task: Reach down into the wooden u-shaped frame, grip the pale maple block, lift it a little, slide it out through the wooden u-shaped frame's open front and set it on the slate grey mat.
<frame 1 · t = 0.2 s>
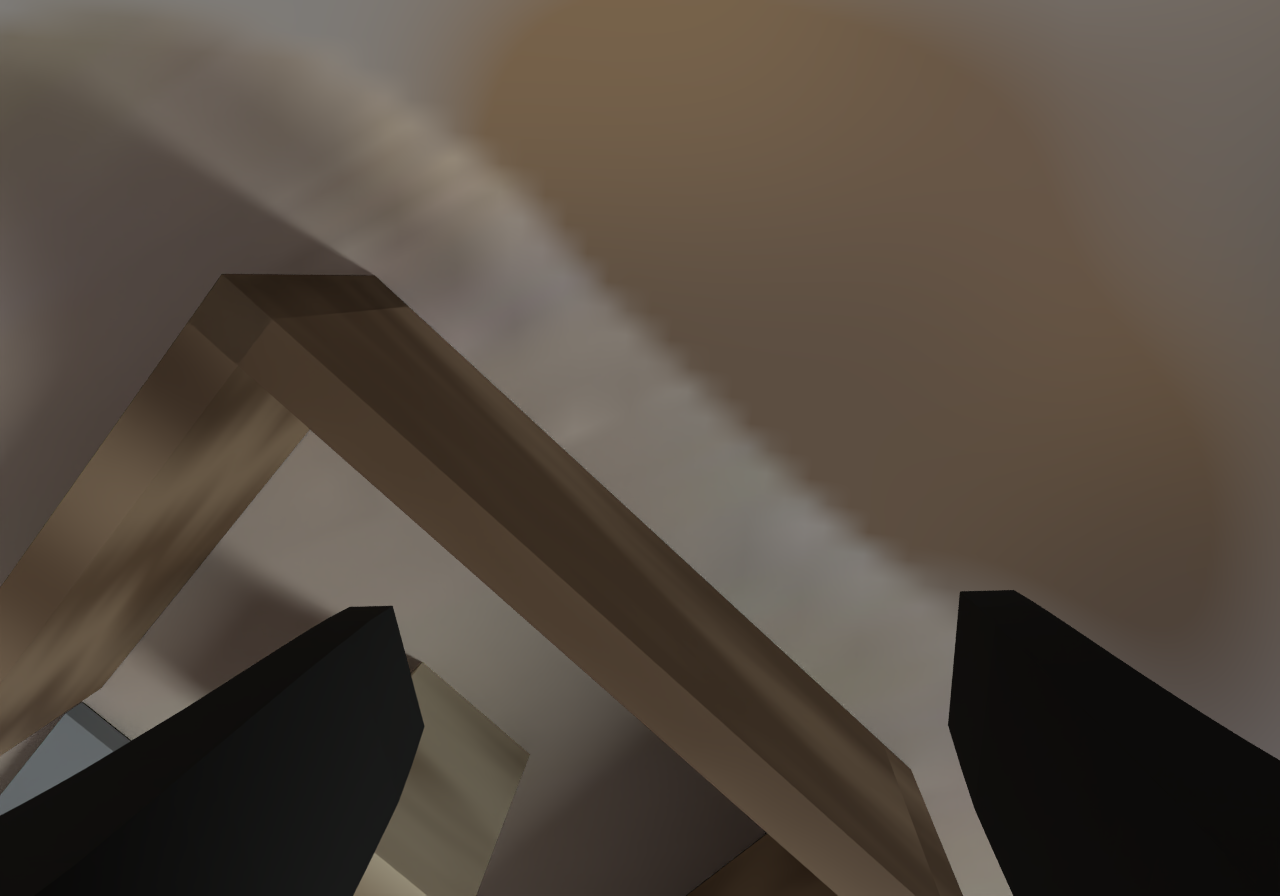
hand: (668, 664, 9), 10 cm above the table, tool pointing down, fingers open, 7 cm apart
block: (433, 750, 22), on the table
wooden u-shaped frame: (471, 714, 22), on the table
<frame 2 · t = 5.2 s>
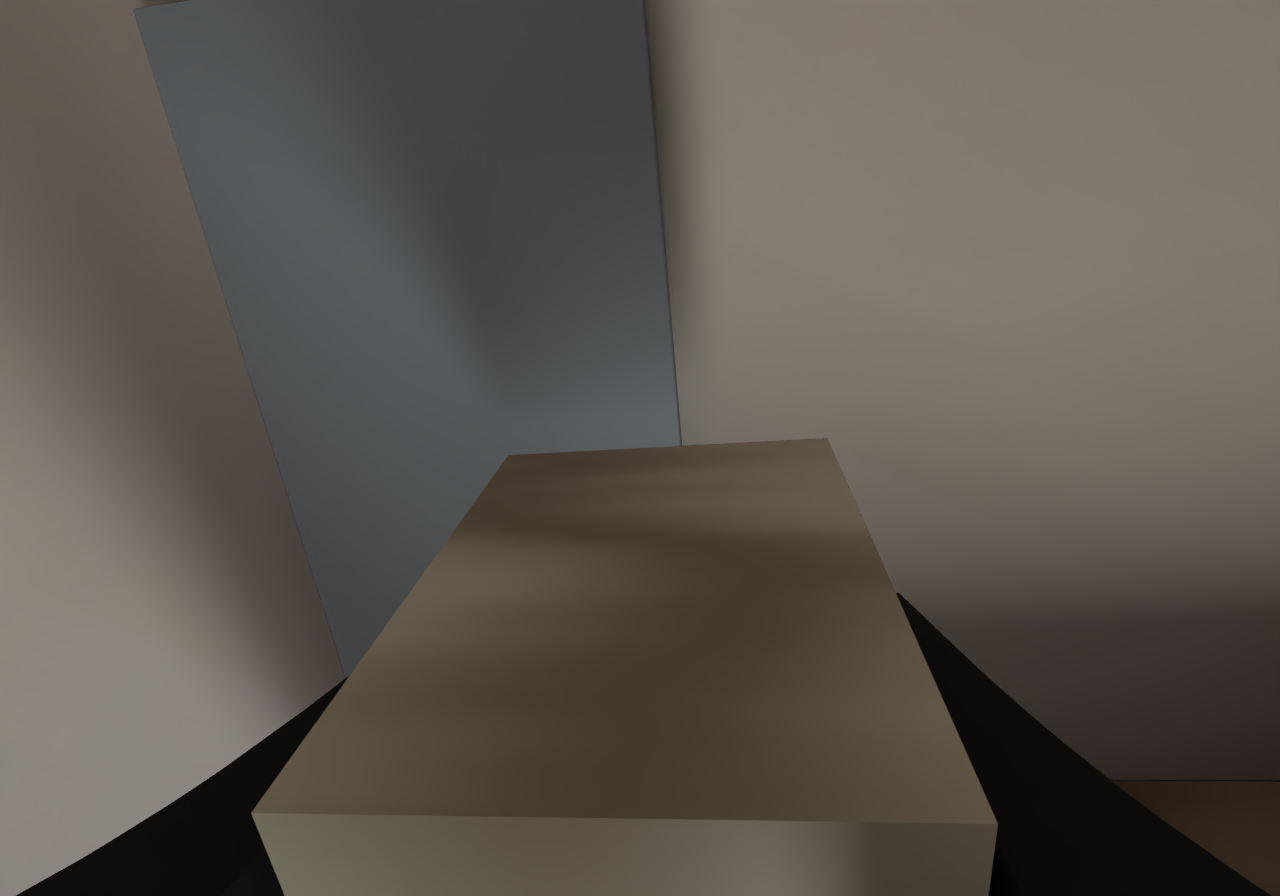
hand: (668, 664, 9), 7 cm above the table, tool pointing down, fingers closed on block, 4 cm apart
mat: (485, 472, 16), on the table
block: (675, 583, 10), point 5 cm above the table, touching gripper
wooden u-shaped frame: (1153, 434, 14), on the table
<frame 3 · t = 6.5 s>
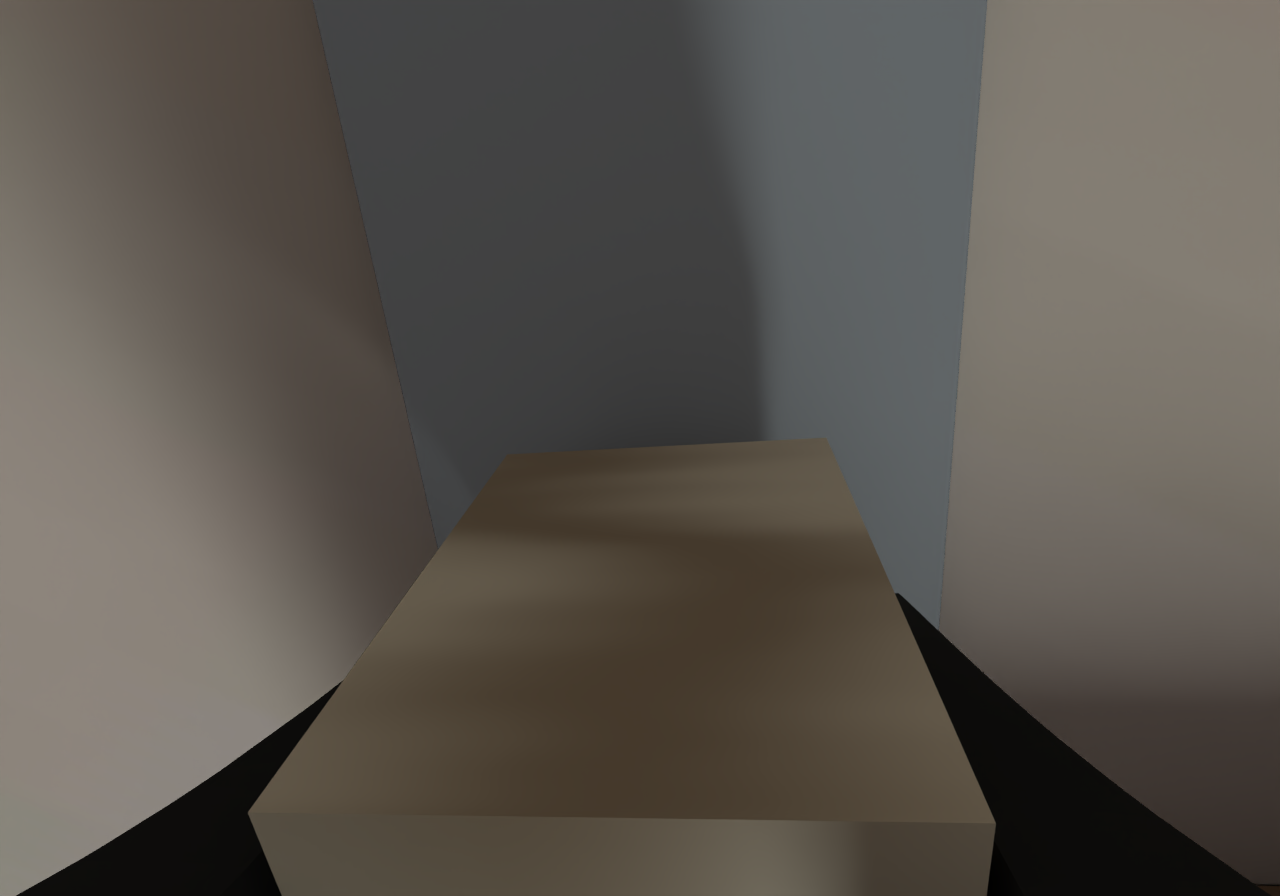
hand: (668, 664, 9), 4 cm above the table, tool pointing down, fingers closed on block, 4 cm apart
mat: (681, 517, 13), on the table
block: (674, 583, 10), point 2 cm above the table, touching gripper
when the fingers open (3 cm above the table, at t = 7.6 s): block stays where it is, resting on mat.
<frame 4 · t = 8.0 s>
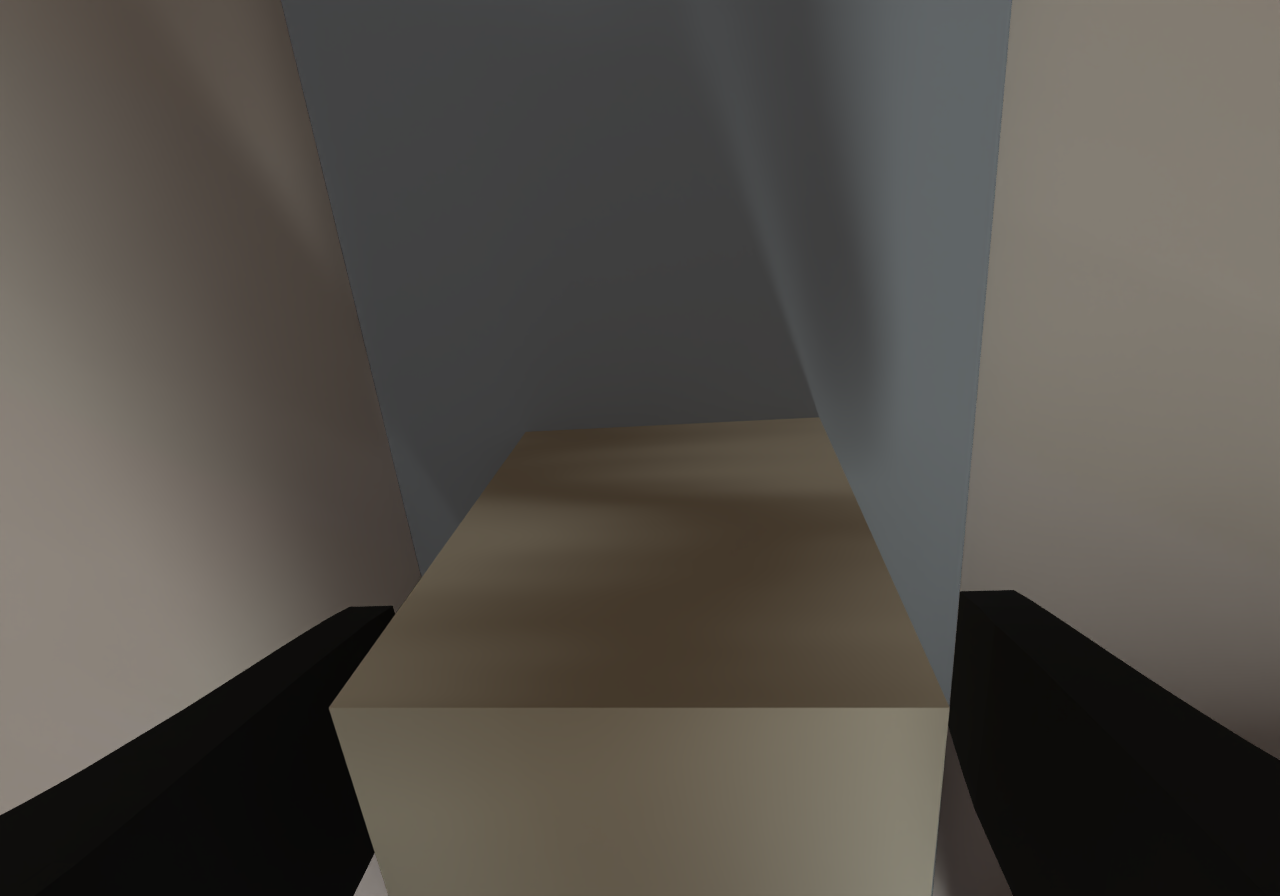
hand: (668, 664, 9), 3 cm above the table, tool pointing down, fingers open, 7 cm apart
mat: (679, 537, 12), on the table
block: (678, 553, 11), point 1 cm above the table, touching mat
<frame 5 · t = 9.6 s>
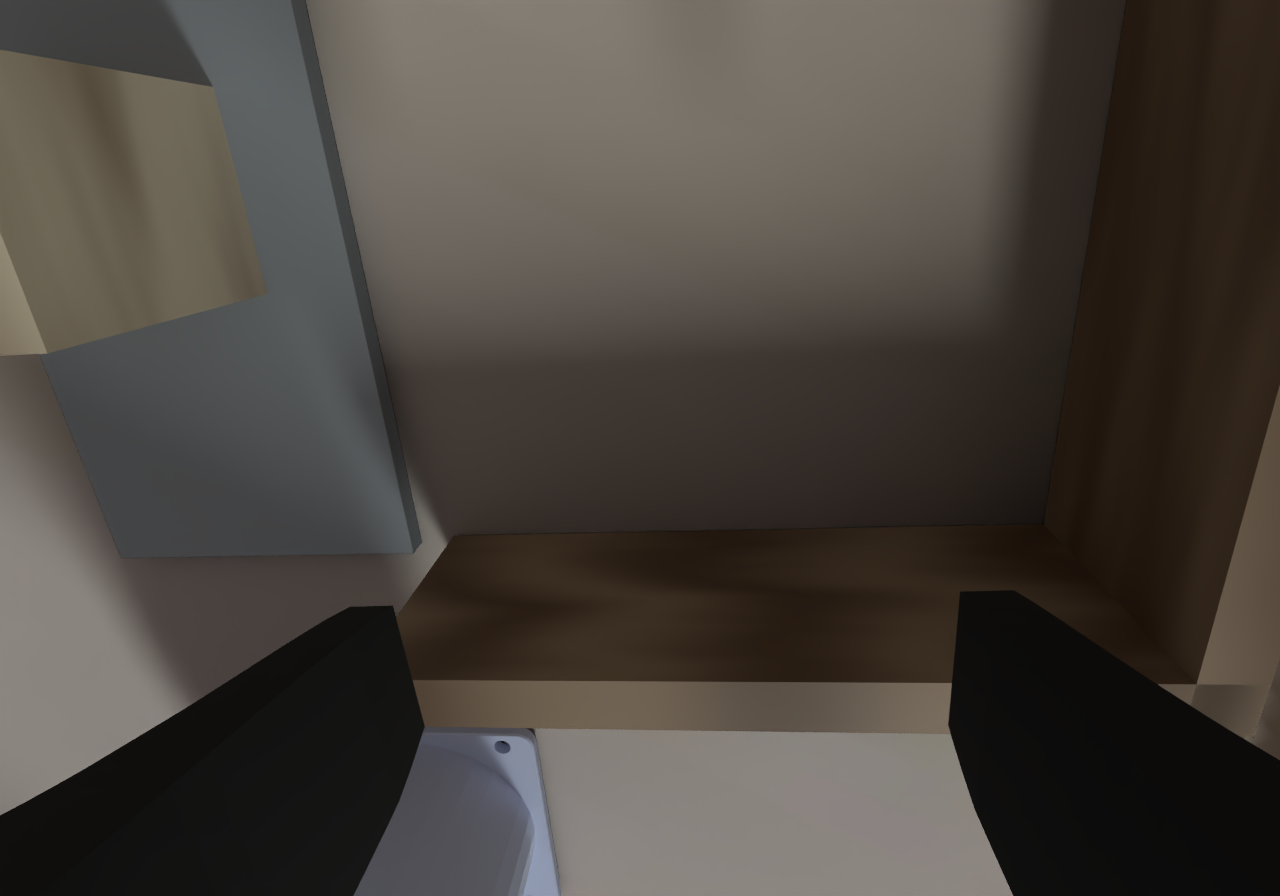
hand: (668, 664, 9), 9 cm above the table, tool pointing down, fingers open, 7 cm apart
mat: (171, 203, 17), on the table
block: (153, 202, 16), point 1 cm above the table, touching mat
wooden u-shaped frame: (752, 156, 15), on the table
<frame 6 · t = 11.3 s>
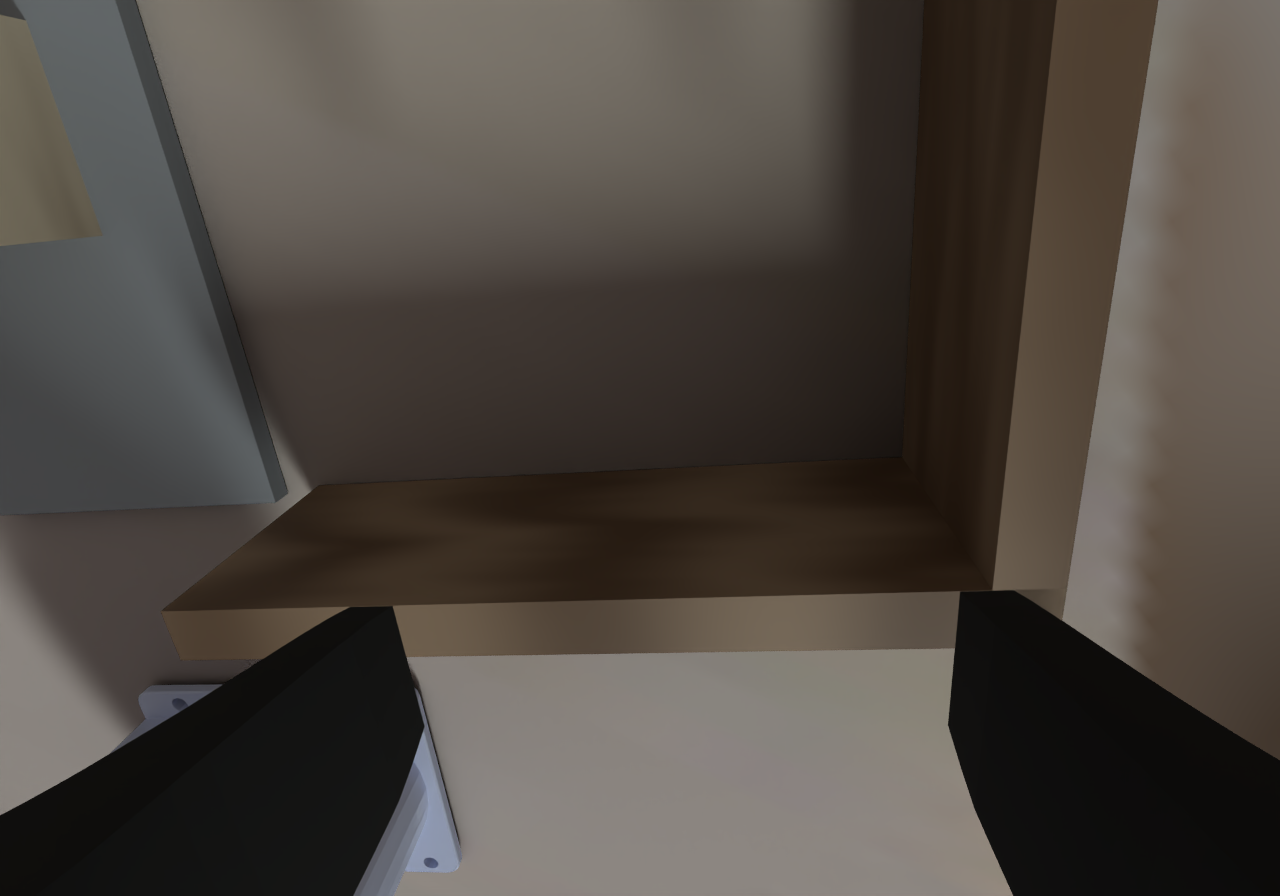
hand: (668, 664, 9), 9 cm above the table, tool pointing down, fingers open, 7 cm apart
mat: (5, 146, 17), on the table
wooden u-shaped frame: (571, 78, 15), on the table
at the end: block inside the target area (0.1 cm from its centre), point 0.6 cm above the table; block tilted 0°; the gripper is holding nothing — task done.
